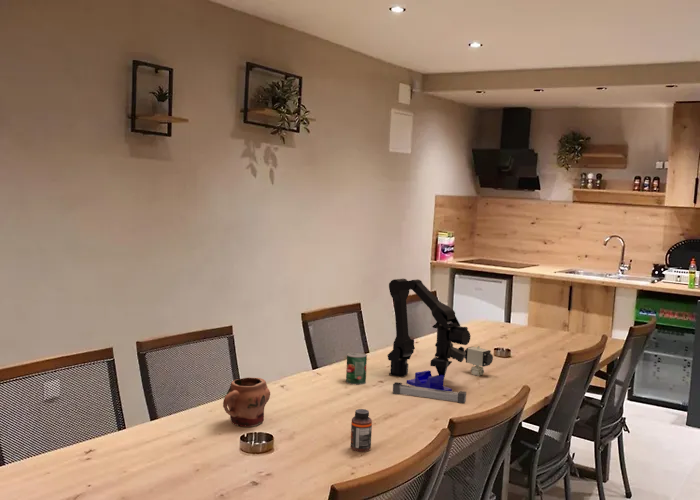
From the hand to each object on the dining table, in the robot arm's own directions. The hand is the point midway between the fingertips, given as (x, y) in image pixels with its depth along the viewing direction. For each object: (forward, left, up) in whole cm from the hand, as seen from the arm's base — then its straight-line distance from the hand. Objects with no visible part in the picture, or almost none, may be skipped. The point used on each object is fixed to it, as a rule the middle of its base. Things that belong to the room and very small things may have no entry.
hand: (442, 380), depth 272 cm
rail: (-1, -17, -2) cm, 17 cm away
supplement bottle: (-7, -77, -3) cm, 78 cm away
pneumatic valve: (+10, +25, -3) cm, 27 cm away
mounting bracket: (-4, -4, -3) cm, 7 cm away
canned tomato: (-32, -10, -3) cm, 34 cm away
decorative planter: (-47, -73, -3) cm, 87 cm away
